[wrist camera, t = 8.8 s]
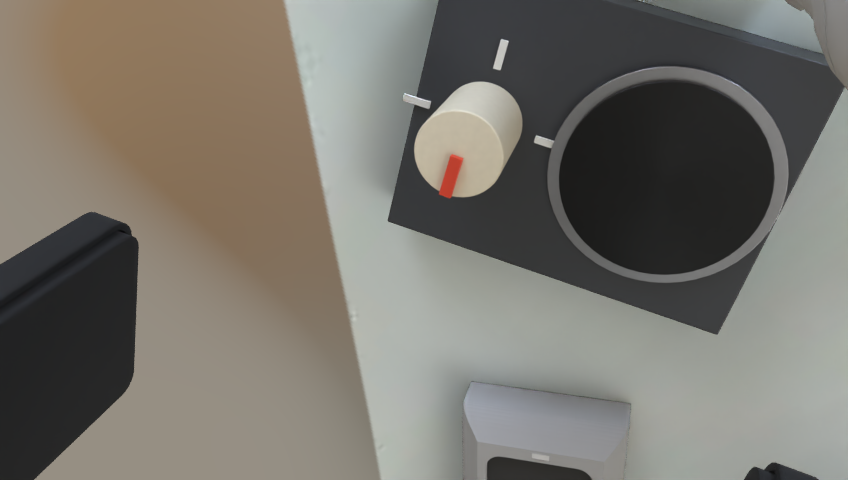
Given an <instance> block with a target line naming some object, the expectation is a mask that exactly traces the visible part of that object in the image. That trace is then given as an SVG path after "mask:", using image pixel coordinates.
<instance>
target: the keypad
mask: <svg viewBox="0 0 848 480" xmlns="http://www.w3.org/2000/svg"><path fill="white" fill-rule="evenodd" d="M630 409H631V404H629V403H622V402H615V401H608V400H600V399H593V398H586V397H579V396H572V395H564V394H557V393H550V392H543V391H536V390H528V389H521V388H514V387H507V386H500V385H492V384H485V383H478V382H471V383H470V386H469V389H468V391H467V394H466V397H465V399H464V403H463V421H462V425H463V480H624V475H625V465H626V456H627V446H628V435H629V424H630Z"/></svg>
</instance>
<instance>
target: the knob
mask: <svg viewBox="0 0 848 480" xmlns="http://www.w3.org/2000/svg"><path fill="white" fill-rule="evenodd" d="M521 132H522V114H521V111H520V108H519V106H518V104H517V102H516V101H515V99H514V98H513V97H512V96H511V95H510V94H509V93H508V92H507V91H506V90H505V89H503V88H501V87H500V86H498V85H495V84H492V83H489V82H472V83H468V84H466V85H463V86H461V87H460V88H458V89H457V90H455V91H454V92H453V93H452V94H451V95H450V96H449V98H448V99H447V100H446V101H445V102H444V103H443V104H442V105H441V106H440V107H439V108H438V109H437V110H436V111H435V112H434V113H433V114H432V115H431V117H430V118H429V119H428V120H427V121H426V122H425V123H424V124H423V125H422V127H421V128H420V130H419V132H418V134H417V137H416V140H415V145H414V154H415V160H416V164H417V167H418V169H419V171H420V173H421V174H422V176H423V177H424V179H425V180H426V181H427V182H428V183H429V184H430V185H431V186H432V187H434V188H435V189H436V190H438V191H440V192H439V195H442V196H444V197H447V198H451V197H452V196H454V197H471V196H475V195H478V194H480V193H482V192H484V191H486V190H487V189H489V188H490V187H491V186H492V185H493V184H494V183H495V182H496V180H497V179H498V177H499V176H500V174H501V172H502V170H503V168H504V166H505V165H506V163H507V161H508V159H509V157H510V155H511V154H512V152H513V150H514V148H515V146H516V144H517V143H518V141H519V138H520V136H521Z"/></svg>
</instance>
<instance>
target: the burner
mask: <svg viewBox="0 0 848 480" xmlns="http://www.w3.org/2000/svg"><path fill="white" fill-rule="evenodd" d="M788 176H789V173H788V158H787V153H786V148H785V144H784V141H783V139H782V136H781V133H780V131H779V129H778V127H777V125H776V123H775V121H774V120H773V118H772V116H771V115H770V113H769V112H768V111H767V110H766V108H765V107H764V106H763V104H762V103H761V102H760V101H759V100H758V99H757V98H755V97H754V96H753V95H752V94H751V93H750V92H749V91H747V90H746V89H745V88H743V87H742V86H740V85H739V84H738V83H736V82H734V81H732V80H730V79H728V78H726V77H724V76H722V75H719V74H717V73H714V72H711V71H709V70H704V69H700V68H696V67H690V66H680V65H660V66H652V67H646V68H641V69H637V70H634V71H630V72H627V73H624V74H622V75H620V76H617V77H615V78H612V79H610V80H609V81H607V82H605V83H604V84H602V85H600V86H598V87H597V88H596V89H594V90H593V91H592V92H590V93H589V94H588V95H586V96H585V97H584V98H583V99H582V100H581V101H580V102H579V103H578V104H577V105H576V106H575V107H574V108H573V110H572V111H571V112H570V114H569V115H568V116H567V117H566V119H565V120H564V122H563V124H562V126H561V127H560V129H559V131H558V133H557V135H556V138H555V140H554V143H553V145H552V149H551V153H550V156H549V162H548V170H547V184H548V192H549V198H550V202H551V205H552V208H553V212H554V214H555V216H556V218H557V220H558V223H559V225H560V226H561V228H562V229H563V231H564V232H565V234H566V236H567V237H568V238H569V239H570V240H571V242H572V243H573V244H574V245H575V246H576V247H577V248H578V249H579V250H580V251H581V252H582V253H583V254H584V255H585V256H587V257H588V258H590V259H591V260H592V261H594V262H595V263H597V264H598V265H600V266H602V267H604V268H605V269H607V270H609V271H611V272H614V273H616V274H619V275H621V276H624V277H628V278H631V279H635V280H640V281H646V282H656V283H674V282H684V281H690V280H695V279H699V278H702V277H706V276H709V275H712V274H714V273H716V272H719V271H721V270H724V269H725V268H727V267H729V266H731V265H732V264H734V263H736V262H738V261H739V260H740V259H742V258H743V257H744V256H746V255H747V254H748V253H750V252H751V251H752V250H753V249H754V248H755V247H756V246H757V245H758V244H759V243H760V242H761V241H762V240H763V238H764V237H765V236H766V235H767V233H768V232H769V231H770V229H771V228H772V226H773V224H774V223H775V221H776V219H777V218H778V215H779V213H780V211H781V208H782V206H783V203H784V199H785V196H786V192H787V185H788Z"/></svg>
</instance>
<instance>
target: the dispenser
mask: <svg viewBox="0 0 848 480" xmlns="http://www.w3.org/2000/svg"><path fill="white" fill-rule="evenodd" d="M785 1H786V2H787V3H788V4H790V5H791V6H793V7H795V8H796V9H798V10H800V11H801V10H804V9H805V11H806V12H807V13H808V14H809V15H810V16H811V18H812V19H813V20H814V28H815V32H816V35H817V37H818V40H819V43H820V45H821V48H822V51H823V53H824V56H825V58H826V61H827V63H828V65H829V67H830V69H831V71H832V72H833V73H834V74H835V76H836V77H837V78H838V79H839V80H840V81H841V83H842V84H843V85H844V86H845V87H846V89H847V90H848V0H785Z"/></svg>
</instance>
